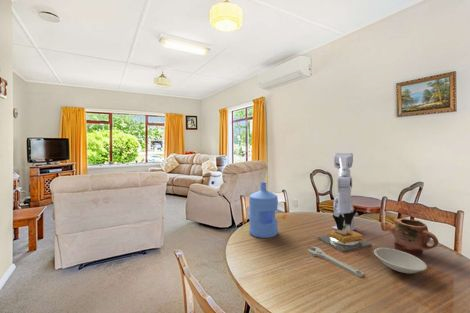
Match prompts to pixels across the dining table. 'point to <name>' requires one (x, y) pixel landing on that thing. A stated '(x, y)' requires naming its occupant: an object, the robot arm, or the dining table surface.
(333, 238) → the bracket rosette
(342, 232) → the rectangular block
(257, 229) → the water jug
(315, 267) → the dining table surface
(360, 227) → the dining table surface
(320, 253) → the adjustable wrench
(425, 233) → the brown ceramic rounded pot
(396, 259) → the dish
